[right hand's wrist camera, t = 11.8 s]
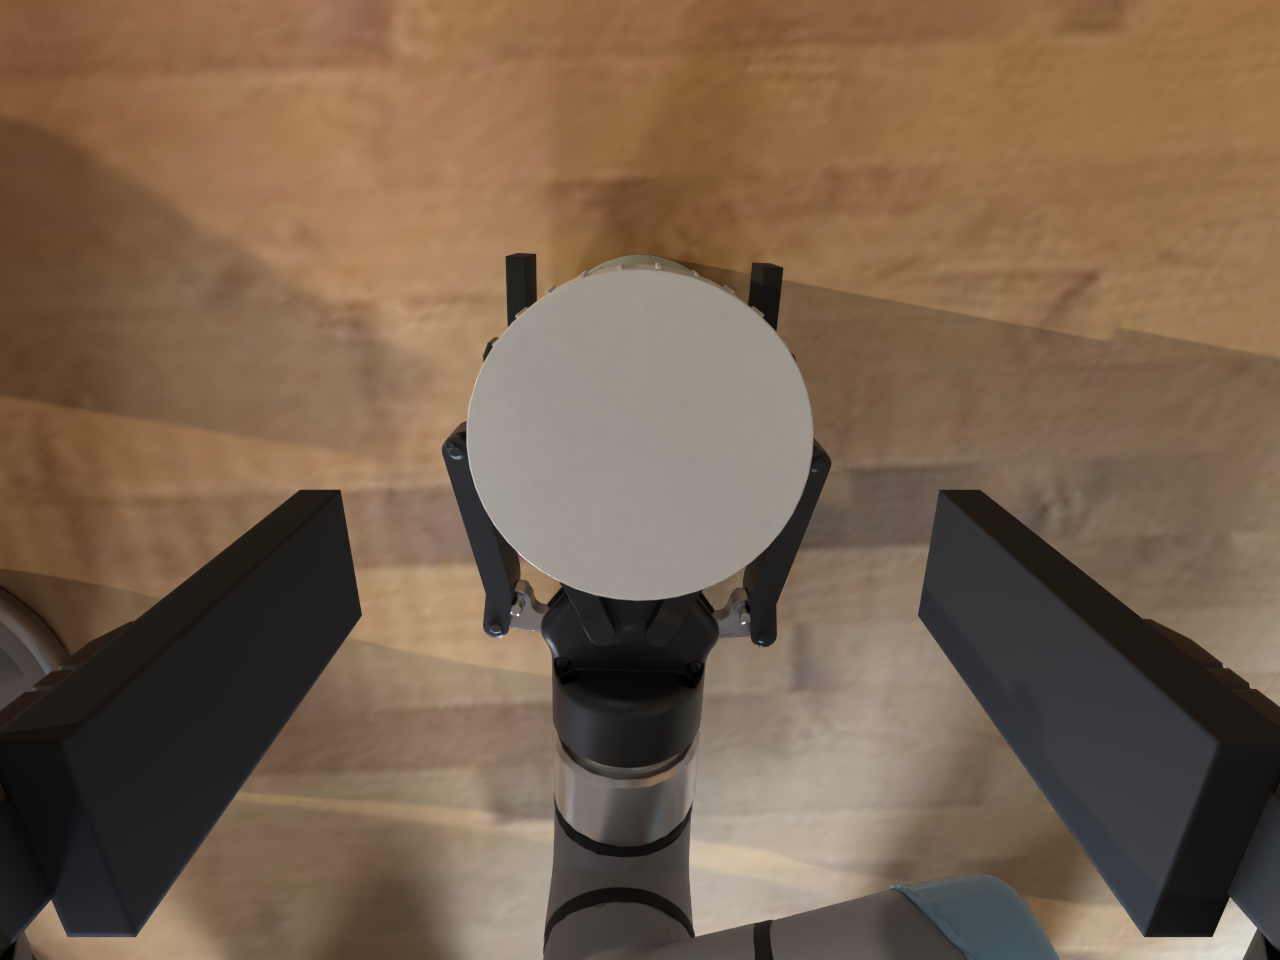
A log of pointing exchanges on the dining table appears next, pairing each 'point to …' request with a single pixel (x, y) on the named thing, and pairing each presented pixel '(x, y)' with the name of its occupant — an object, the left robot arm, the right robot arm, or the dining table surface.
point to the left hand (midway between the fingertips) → (644, 260)
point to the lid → (640, 433)
